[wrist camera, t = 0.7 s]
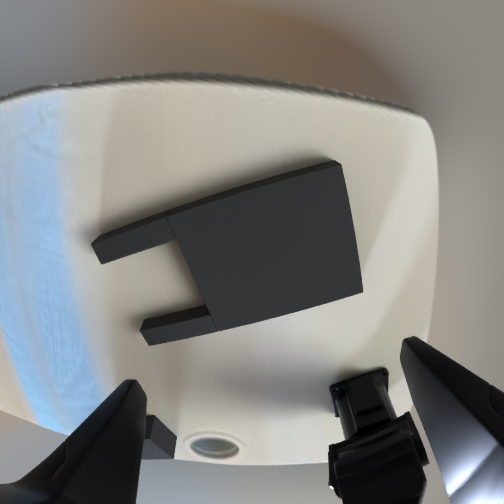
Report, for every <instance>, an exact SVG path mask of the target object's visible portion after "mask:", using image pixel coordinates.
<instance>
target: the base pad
mask: <svg viewBox="0 0 504 504" xmlns="http://www.w3.org/2000/svg"><path fill="white" fill-rule="evenodd" d="M174 240H177V242H178V244H179V246H180V249H181V251H182V253H183V256H184V258H185V260H186V262H187V265H188V267H189V269H190V271H191V273H192V276H193V278H194V280H195V282H196V284H197V286H198V289H199V291H200V293H201V295H202V297H203V299H204V301H205V304H206V305H204V306H200V307H196V308H192V309H188V310H184V311H180V312H176V313H172V314H167V315H163V316H159V317H155V318H150V319H146V320H144V321H143V323H142V326H141V328H140V332H141V334H142V335H143V337H144V339H145V340H146V342H147V343H148V345H149V346H151V345H156V344H162V343H167V342H172V341H177V340H182V339H186V338H191V337H196V336H200V335H205V334H209V333H214V332H218V330H219V331H222V330H227V329H231V328H235V327H239V326H243V325H247V324H252V323H256V322H260V321H263V320H267V319H271V318H275V317H279V316H283V315H286V314H290V313H294V312H297V311H301V310H305V309H308V308H312V307H315V306H319V305H322V304H326V303H329V302H333V301H336V300H339V299H343V298H346V297H349V296H352V295H356V294H359V293H362V292H363V286H362V278H361V270H360V263H359V256H358V250H357V243H356V237H355V231H354V226H353V220H352V214H351V209H350V204H349V199H348V194H347V189H346V184H345V179H344V175H343V170H342V166H341V164H340V163H338V162H337V161H335V160H333V161H329V162H325V163H321V164H317V165H314V166H310V167H306V168H302V169H299V170H295V171H292V172H288V173H284V174H281V175H277V176H274V177H270V178H267V179H264V180H260V181H257V182H253V183H250V184H247V185H244V186H240V187H237V188H234V189H231V190H227V191H224V192H221V193H218V194H215V195H212V196H209V197H206V198H203V199H200V200H197V201H194V202H191V203H188V204H185V205H182V206H179V207H176V208H173V209H171V210H167V211H164V212H162V213H159V214H156V215H153V216H150V217H148V218H145V219H142V220H139V221H137V222H134V223H131V224H129V225H126V226H123V227H121V228H118V229H116V230H113V231H110V232H108V233H105V234H103V235H100V236H98V237H97V238H96V239H95V240H94V241H93V242H92V244H91V246H92V248H93V250H94V252H95V254H96V255H97V257H98V259H99V261H100V263H101V264H105V263H108V262H111V261H114V260H117V259H120V258H122V257H125V256H128V255H131V254H134V253H137V252H140V251H144V250H147V249H150V248H153V247H156V246H159V245H162V244H165V243H168V242H171V241H174Z"/></svg>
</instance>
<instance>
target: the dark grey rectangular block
mask: <svg viewBox="0 0 504 504" xmlns="http://www.w3.org/2000/svg"><path fill="white" fill-rule="evenodd" d="M176 440H177V437H176V436H175V435H174V434H173V433H172V432H171V431H170V430H169V429H168V428H167V427H166V426H165V425H164V424H163V423H162V422H161V421H160V420H159V419H158V418H157V417H156V416H146V426H145V439H144V446H143V452H142V459H174V453H175V446H176Z"/></svg>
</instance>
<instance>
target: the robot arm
mask: <svg viewBox="0 0 504 504" xmlns="http://www.w3.org/2000/svg"><path fill="white" fill-rule="evenodd" d="M400 361H401V365H402V368H403V371H404V374H405V378H406V381H407V384H408V388H409V391H410V394H411V398H412V401H413V403H414V405H415V408H416V410H417V413H418V415H419V417H420V420H421V422H422V425H423V427H424V430H425V432H426V435H427V437H428V440H429V443H430V445H431V448H432V451H433V453H434V456H435V459H436V461H437V464H438V467H439V470H440V472H441V475H442V478H443V481H444V484H445V487H446V490H447V493H448V495H449V500H450V503H451V504H504V392H502V391H500V390H499V389H497V388H496V387H494V386H493V385H490V384H489V383H488V382H486V381H485V380H483V379H482V378H480V377H478V376H477V375H475V374H474V373H472V372H471V371H469V370H468V369H466V368H465V367H463V366H461V365H460V364H458V363H457V362H455V361H454V360H452V359H450V358H449V357H447V356H446V355H444V354H443V353H441V352H440V351H438V350H436V349H435V348H433V347H432V346H430V345H428V344H427V343H425V342H424V341H422V340H421V339H419V338H417V337H415V336H412V337H408V338H405V339H404V340H403V342H402V348H401V353H400ZM388 377H389V372H388V370H387V368H383V369H380V370H377V371H374V372H371V373H368V374H365V375H362V376H359V377H356V378H352V379H349V380H346V381H342V382H339V383H336V384H332V385H331V386H330V387H329V390H330V395H331V400H332V404H333V409H334V414H335V417H340V421H341V425H342V429H343V433H344V437H345V440H344V441H342V442H339V443H336V444H331V445H329V452H328V461H329V482H328V483H329V487H330V488H332V489H334V491H335V493H336V495H337V496H338V497H339V498H340V499H341V498H342V501H343V504H421V503H422V500H423V497H424V493H425V489H426V486H427V480H426V477H425V474H424V471H423V468H422V467H423V466H426V465H428V464H429V460H428V457H427V454H426V451H425V448H424V446H423V443H422V440H421V438H420V436H419V433H418V431H417V428H416V426H415V424H414V421H413V419H412V417H411V414H410V412H409V411H408V412H406V413H404V415H402V416H400V417H398V418H397V416H396V413H395V411H394V408H393V406H392V403H391V400H390V398H389V395H388ZM146 407H147V397H146V394H145V392H144V390H143V389H142V387H141V386H140V384H139V383H138V381H137V380H135V379H127V380H124V381H123V382H122V383H121V384H120V385H119V386H118V387H117V388H116V389H115V390H114V391H113V392H112V393H111V394H110V395H109V396H108V397H107V398H106V399H105V400H104V401H103V402H102V403H101V404H100V405H99V406H98V407H97V408H96V410H95V411H94V412H93V413H92V414H91V415H90V416H89V417H88V418H87V419H86V420H85V421H84V422H83V423H82V424H81V425H80V426H79V427H78V428H77V429H76V430H75V431H74V432H73V433H72V434H71V435H70V436H69V437H68V438H67V439H66V440H65V441H64V442H63V443H62V444H61V445H60V446H59V447H58V448H57V449H56V450H55V451H54V452H52V453H51V454H50V455H49V456H48V457H47V458H46V459H45V460H44V461H42V462H41V463H40V464H39V465H38V466H36V467H35V468H34V469H33V470H31V471H30V472H29V473H28V474H27V475H25V476H24V477H23V478H21V479H20V480H18V481H16V482H13V483H9V484H0V504H136V497H137V489H138V481H139V473H140V466H141V459H142V452H143V446H144V439H145V426H146Z"/></svg>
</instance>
